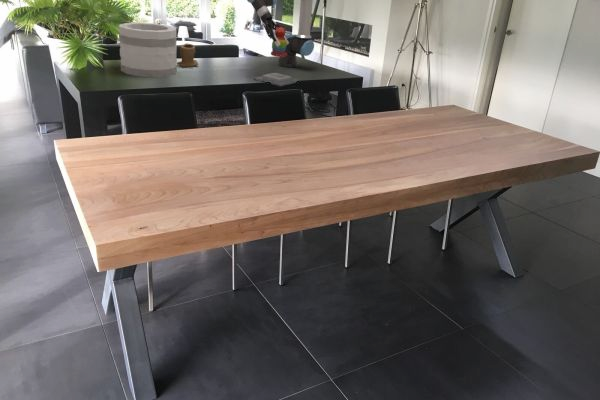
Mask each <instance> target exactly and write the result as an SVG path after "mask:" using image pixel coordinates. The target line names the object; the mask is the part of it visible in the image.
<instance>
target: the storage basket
mask: <svg viewBox="0 0 600 400" xmlns="http://www.w3.org/2000/svg"><path fill="white" fill-rule="evenodd" d="M118 30H119V31H118V32H119V33H118V42H119V45H120V48H119V56H120V71H121V72H122V73H124V74H126V75H129V76H130V75H131V76H135V77H144V78H165V77H171V76H175V75H176V74H177V70H178V66H177V65H178V64H177V62H178V60H177V53H178V52H177V50H178V49H177V29H176V27H174V26H170V25H166V24H159V23H151V22H147V23H146V22H125V23H120V24H118Z"/></svg>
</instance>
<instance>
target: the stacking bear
mask: <svg viewBox="0 0 600 400" xmlns="http://www.w3.org/2000/svg"><path fill="white" fill-rule="evenodd" d="M274 35H275V36H276V38H277V39H278V41H279V42H280V45H279V46H278V47H277V46H276V44H275V42H274V41H273V40H272V43H271V49H272V51H271V52H270V55H271V56H273V57H276V58H277V57H279V58H280V57H285V56H287V53H285V50H286V39H285V37H284V36H285V35H286V28H285V27H281V26H280V27H279V28H278V27H276V30H274Z"/></svg>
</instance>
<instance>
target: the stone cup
mask: <svg viewBox="0 0 600 400" xmlns="http://www.w3.org/2000/svg"><path fill="white" fill-rule="evenodd" d="M179 47H180V49H179V53H180V58H181V61H177V65H178V66H180V67H182V68H183V67H187V68H188V67H195V66H199V63H198V61H197V60H196V59H195V54H196V47H195V45H194V44H192V43H184V44H181V45H180V46H179Z"/></svg>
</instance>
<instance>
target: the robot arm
mask: <svg viewBox="0 0 600 400" xmlns="http://www.w3.org/2000/svg"><path fill="white" fill-rule="evenodd" d="M246 1H247V3H250V4H251V6H252V7H253V9H254V11H255V12H256V13H257V15H258V17H259V19H260V20H261V22H262V24H261V25H262V26H263V27H264V30H265V32H266V35H267V37H269V39H272V42H273V41H274V42H275V44H276V46H277V47H278V46H279V45H280V42H279V41H278V39H277V38H276V35H275V32H274V31H275V30H276V27H278V28H279V27H281V26H280V24H279V22H278V20H277V21H276V20H274V19H273V15H272V13H271V12H270V10H269V8H268V7H273V6H276V5H277V3H278V0H246ZM313 2H314V1H313V0H300V6H299V18H298V31H297V34H285V36H284V37H285V39H286V50H285V53H287V56H285V57H279V59H278V60H277V66H279V67H284V68H297V67H298V59H297V55H300V56H304V57H309V56H310V55H311V54H312V53H313V52H314V48H315V43H314V41H313V40H312V37H313V36H312V35H311V25H312V13H313Z"/></svg>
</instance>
